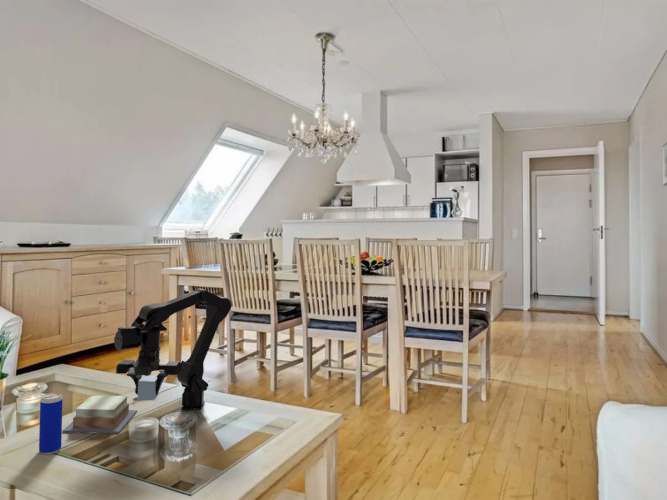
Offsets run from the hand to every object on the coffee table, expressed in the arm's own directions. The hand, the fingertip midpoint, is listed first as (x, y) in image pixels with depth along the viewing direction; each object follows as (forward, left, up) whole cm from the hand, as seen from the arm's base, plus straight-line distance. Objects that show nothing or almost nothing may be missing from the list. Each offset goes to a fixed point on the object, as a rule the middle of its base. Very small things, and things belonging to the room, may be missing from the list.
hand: (148, 393), depth 150 cm
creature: (+6, -20, -8) cm, 22 cm away
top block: (0, 0, -1) cm, 1 cm away
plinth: (+13, +3, -8) cm, 16 cm away
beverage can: (+19, +22, -8) cm, 30 cm away
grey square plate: (+13, +3, -8) cm, 16 cm away
